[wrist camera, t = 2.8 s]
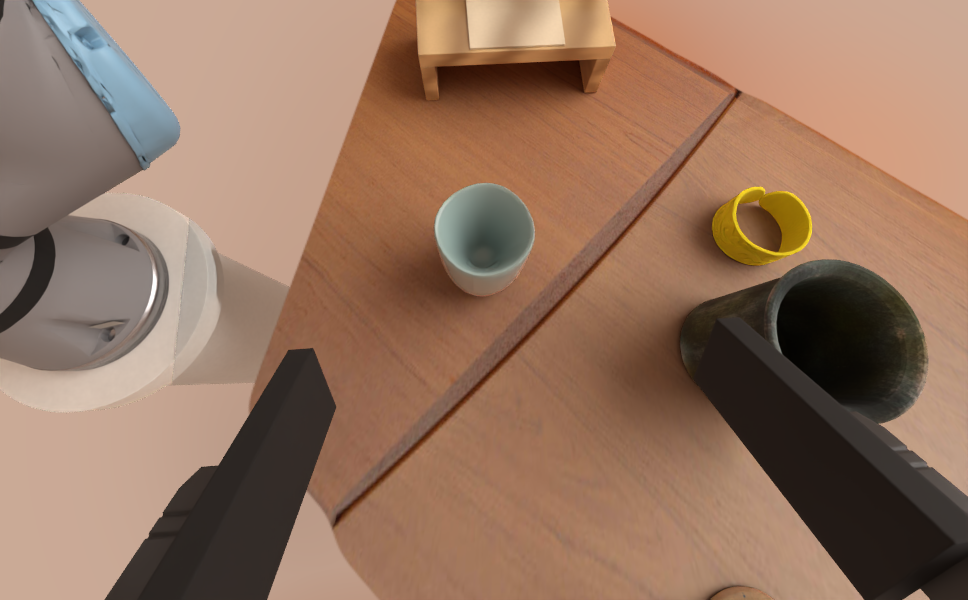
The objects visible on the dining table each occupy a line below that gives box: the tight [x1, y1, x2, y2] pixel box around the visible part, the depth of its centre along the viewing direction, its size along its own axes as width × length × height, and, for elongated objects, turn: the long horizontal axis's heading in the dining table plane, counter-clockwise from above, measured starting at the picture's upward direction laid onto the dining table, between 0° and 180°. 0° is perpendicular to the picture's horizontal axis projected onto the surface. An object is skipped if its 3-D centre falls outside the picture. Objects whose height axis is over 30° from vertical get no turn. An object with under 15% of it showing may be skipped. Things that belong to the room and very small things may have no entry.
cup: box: [434, 183, 535, 297], centre depth 32 cm, size 8×8×10 cm
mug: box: [680, 260, 928, 424], centre depth 29 cm, size 11×15×12 cm
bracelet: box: [712, 187, 812, 266], centre depth 37 cm, size 7×8×3 cm
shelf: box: [416, 0, 616, 101], centre depth 38 cm, size 20×9×9 cm, turn 94°
